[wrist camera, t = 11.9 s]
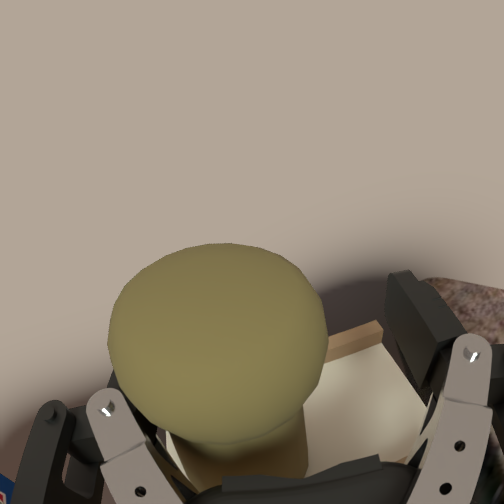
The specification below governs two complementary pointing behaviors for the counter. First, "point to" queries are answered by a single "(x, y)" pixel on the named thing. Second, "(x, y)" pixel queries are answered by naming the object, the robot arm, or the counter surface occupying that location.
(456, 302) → the counter surface
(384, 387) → the display stand
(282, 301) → the olive green pawn
